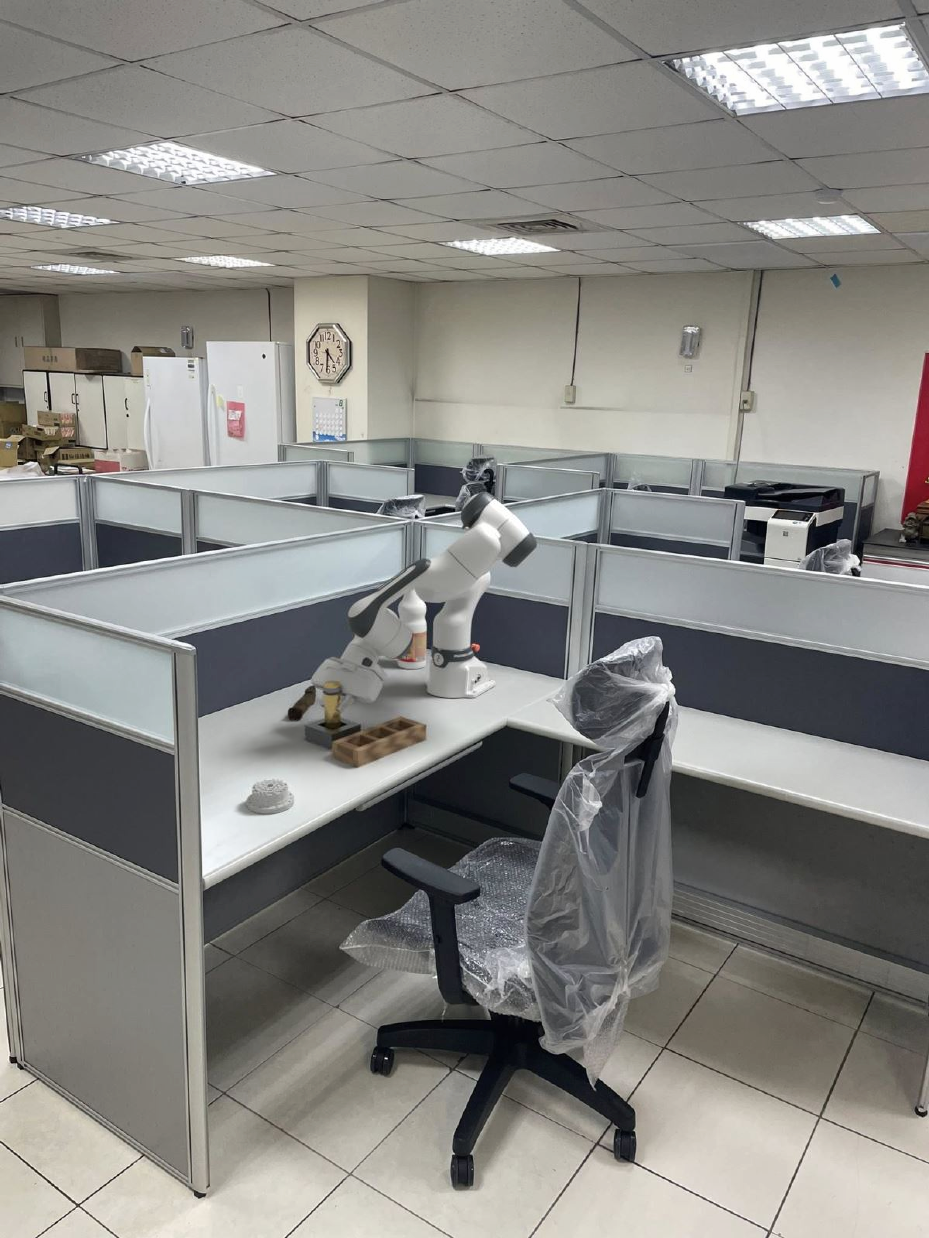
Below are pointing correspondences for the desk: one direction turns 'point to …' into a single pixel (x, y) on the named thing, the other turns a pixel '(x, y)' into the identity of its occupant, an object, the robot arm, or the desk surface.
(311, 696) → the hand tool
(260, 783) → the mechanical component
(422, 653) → the fruit juice
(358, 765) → the wooden compartment tray
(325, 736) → the socket block
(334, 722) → the gold capped cylinder
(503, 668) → the desk surface
